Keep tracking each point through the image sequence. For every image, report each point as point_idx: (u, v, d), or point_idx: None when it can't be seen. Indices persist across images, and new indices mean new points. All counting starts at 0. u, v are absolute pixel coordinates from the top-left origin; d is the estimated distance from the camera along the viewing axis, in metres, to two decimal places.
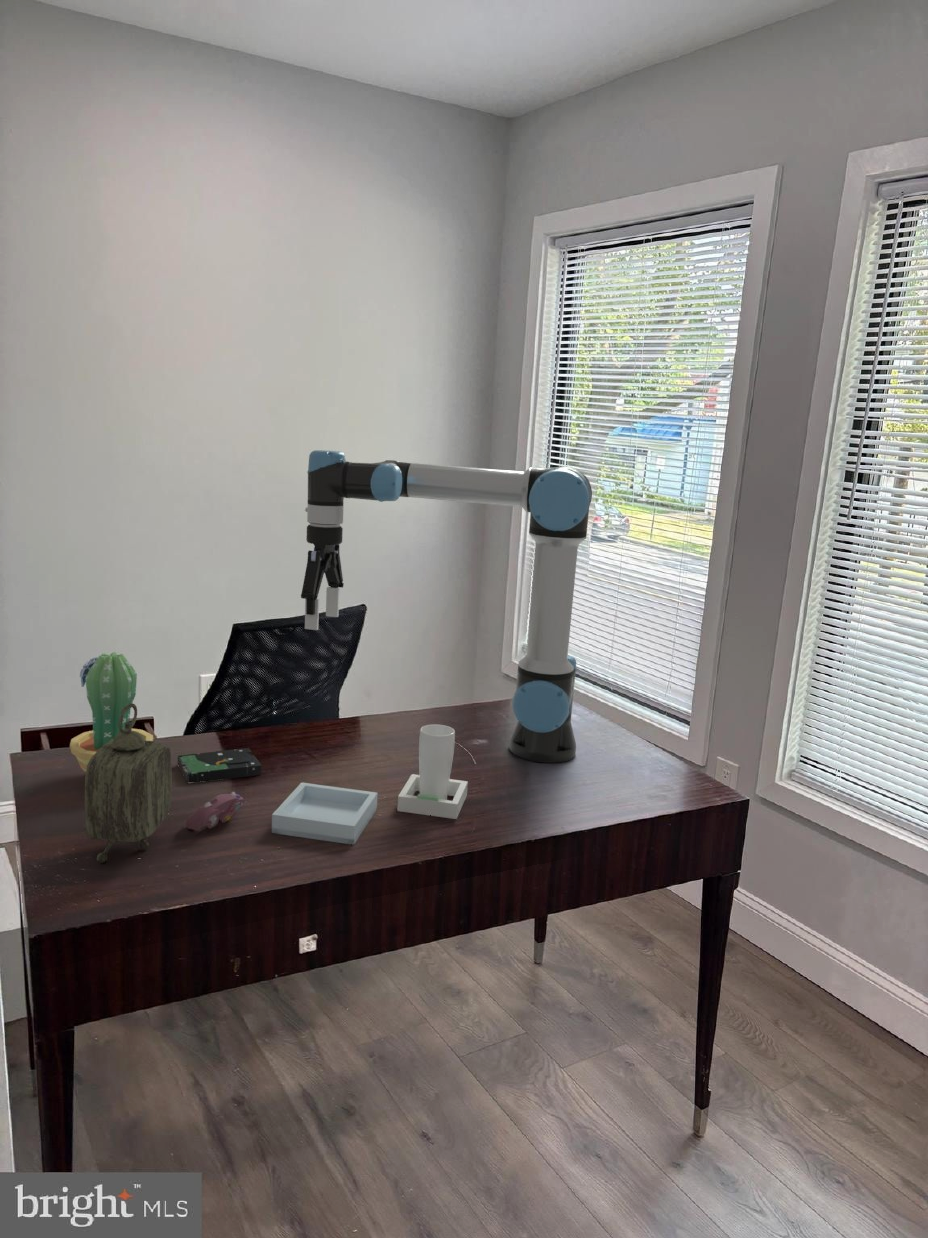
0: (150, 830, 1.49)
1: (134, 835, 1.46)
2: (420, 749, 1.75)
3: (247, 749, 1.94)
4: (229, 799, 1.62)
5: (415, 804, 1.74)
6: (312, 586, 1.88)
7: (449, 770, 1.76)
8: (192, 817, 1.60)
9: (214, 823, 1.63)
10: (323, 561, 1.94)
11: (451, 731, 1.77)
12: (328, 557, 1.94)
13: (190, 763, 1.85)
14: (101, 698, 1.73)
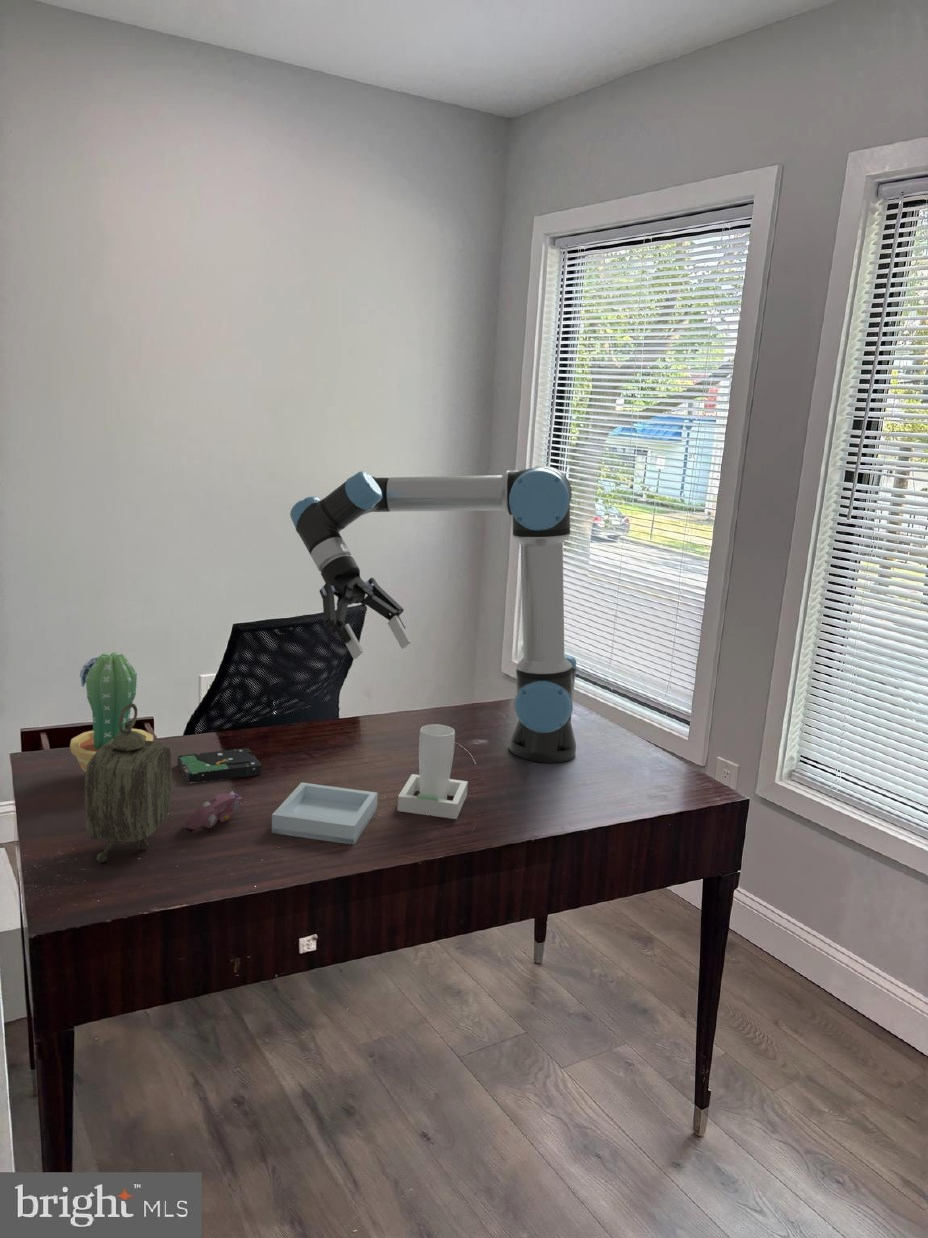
0: (150, 830, 1.49)
1: (134, 835, 1.46)
2: (420, 749, 1.75)
3: (247, 749, 1.95)
4: (228, 799, 1.63)
5: (415, 804, 1.74)
6: (329, 613, 1.81)
7: (449, 770, 1.76)
8: (191, 816, 1.60)
9: (213, 822, 1.63)
10: (343, 592, 1.87)
11: (451, 731, 1.77)
12: (347, 586, 1.87)
13: (190, 763, 1.85)
14: (101, 698, 1.73)
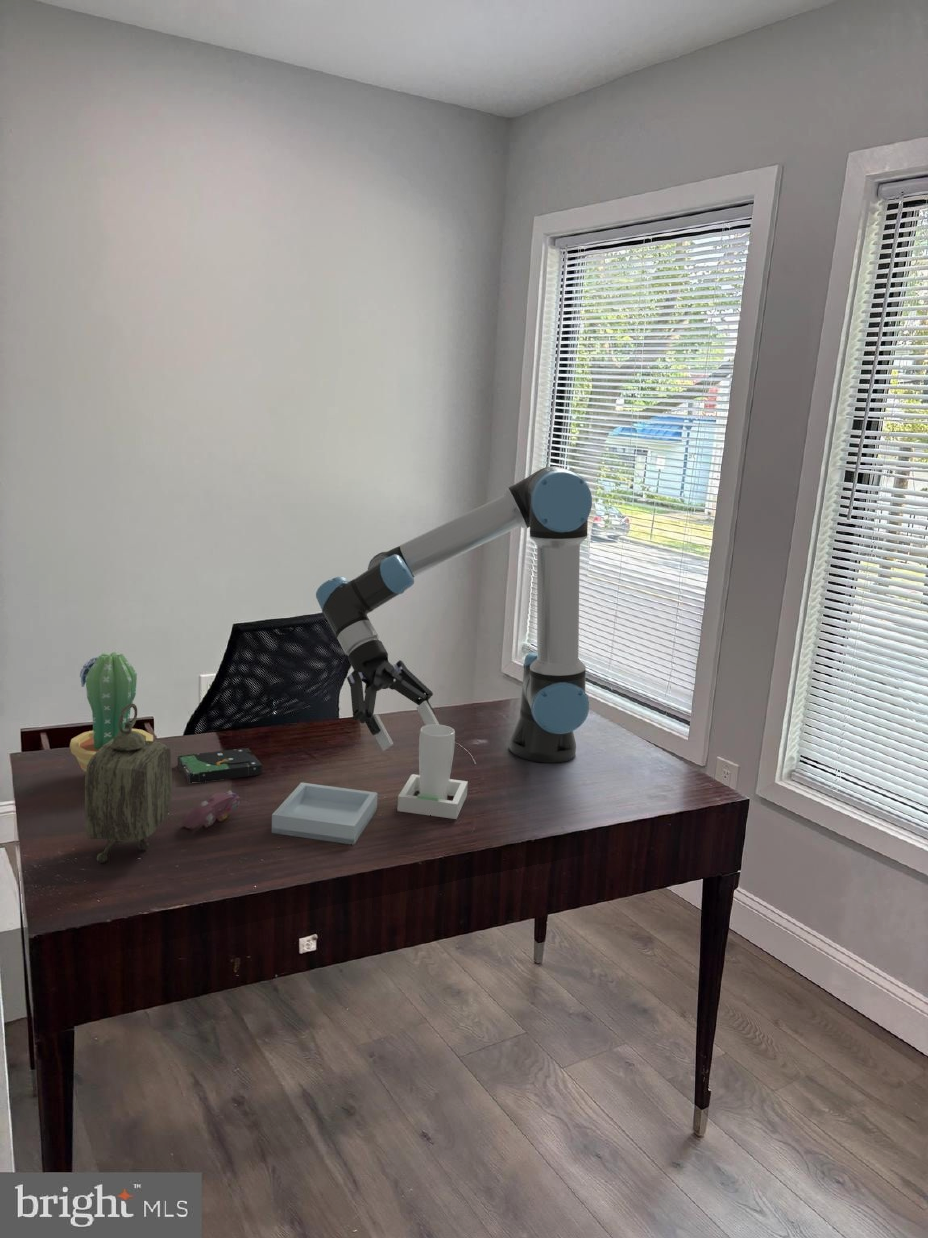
0: (150, 830, 1.49)
1: (134, 835, 1.46)
2: (420, 749, 1.75)
3: (247, 749, 1.95)
4: (226, 798, 1.63)
5: (415, 804, 1.74)
6: (357, 704, 1.74)
7: (449, 770, 1.76)
8: (189, 816, 1.61)
9: (211, 822, 1.63)
10: (371, 679, 1.80)
11: (451, 731, 1.77)
12: (375, 673, 1.81)
13: (190, 763, 1.85)
14: (101, 698, 1.73)
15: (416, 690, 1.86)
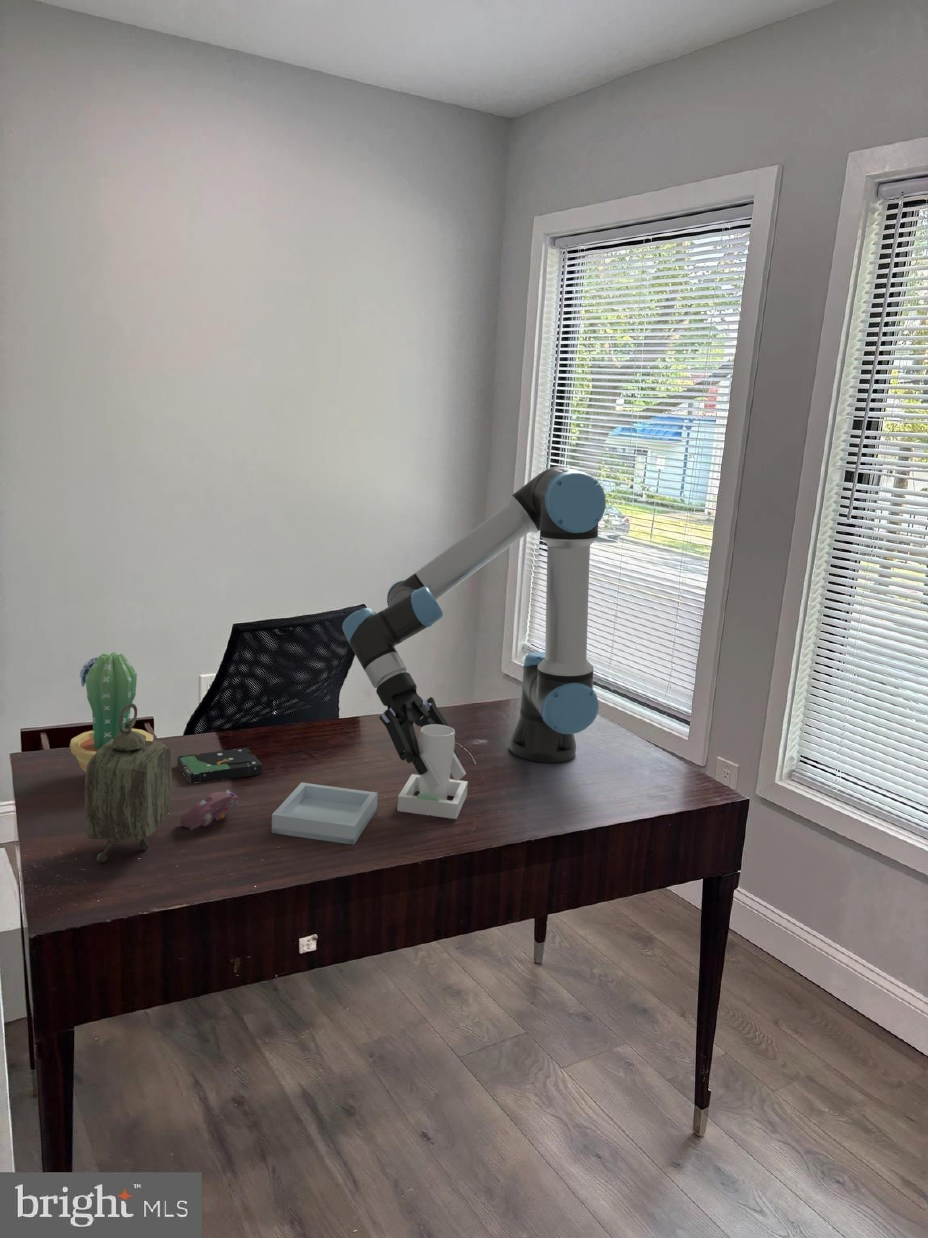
0: (150, 830, 1.49)
1: (134, 835, 1.46)
2: (420, 749, 1.75)
3: (246, 749, 1.95)
4: (224, 797, 1.63)
5: (415, 804, 1.74)
6: (402, 745, 1.73)
7: (449, 770, 1.76)
8: (187, 815, 1.61)
9: (209, 821, 1.63)
10: (404, 715, 1.78)
11: (451, 731, 1.77)
12: (405, 708, 1.78)
13: (191, 764, 1.85)
14: (101, 698, 1.73)
15: None
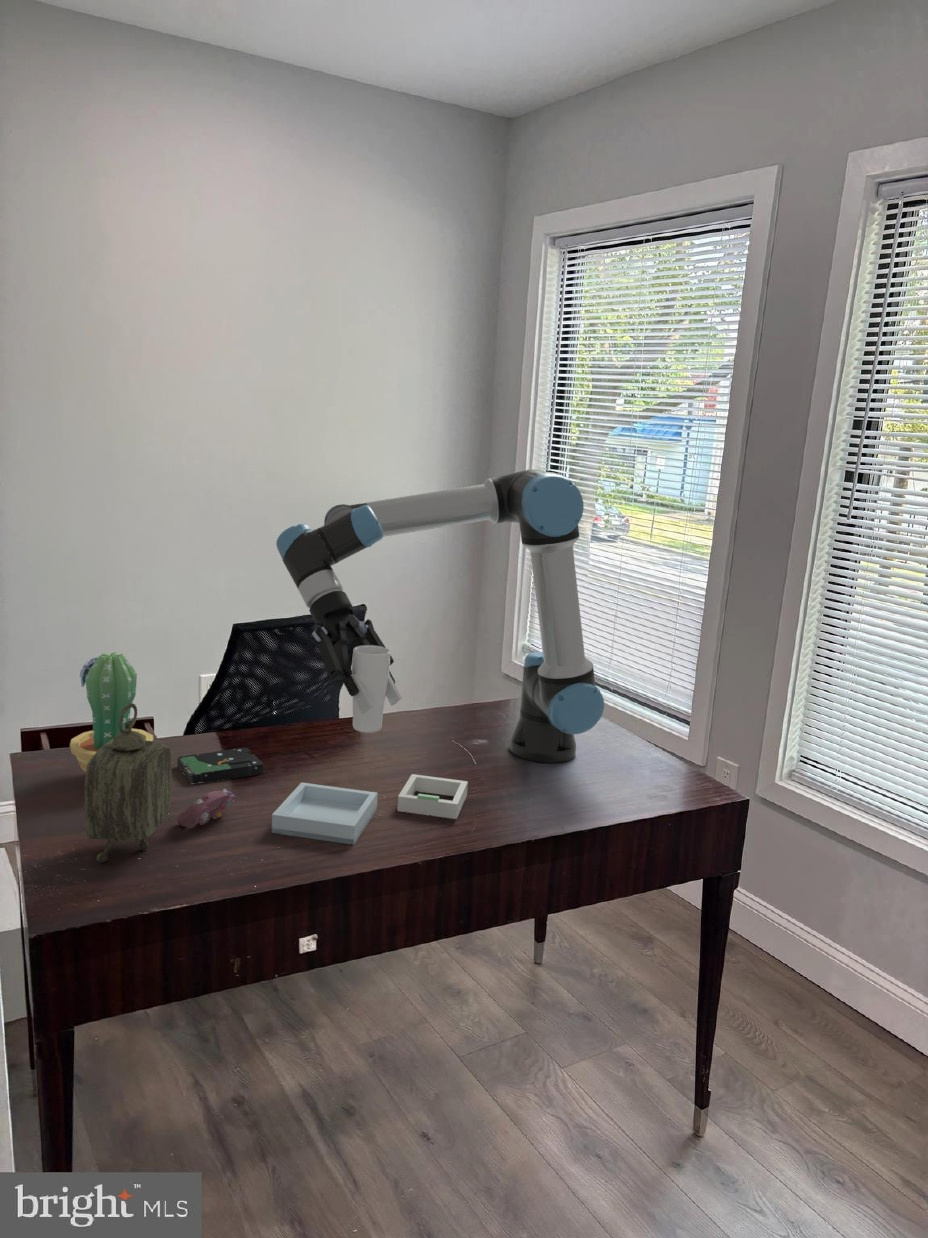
0: (150, 830, 1.49)
1: (134, 835, 1.46)
2: (353, 669, 1.65)
3: (246, 748, 1.95)
4: (221, 796, 1.63)
5: (415, 804, 1.74)
6: (332, 664, 1.63)
7: (383, 693, 1.67)
8: (184, 814, 1.61)
9: (206, 820, 1.64)
10: (337, 634, 1.68)
11: (387, 652, 1.68)
12: (339, 627, 1.68)
13: (191, 764, 1.85)
14: (101, 698, 1.73)
15: None
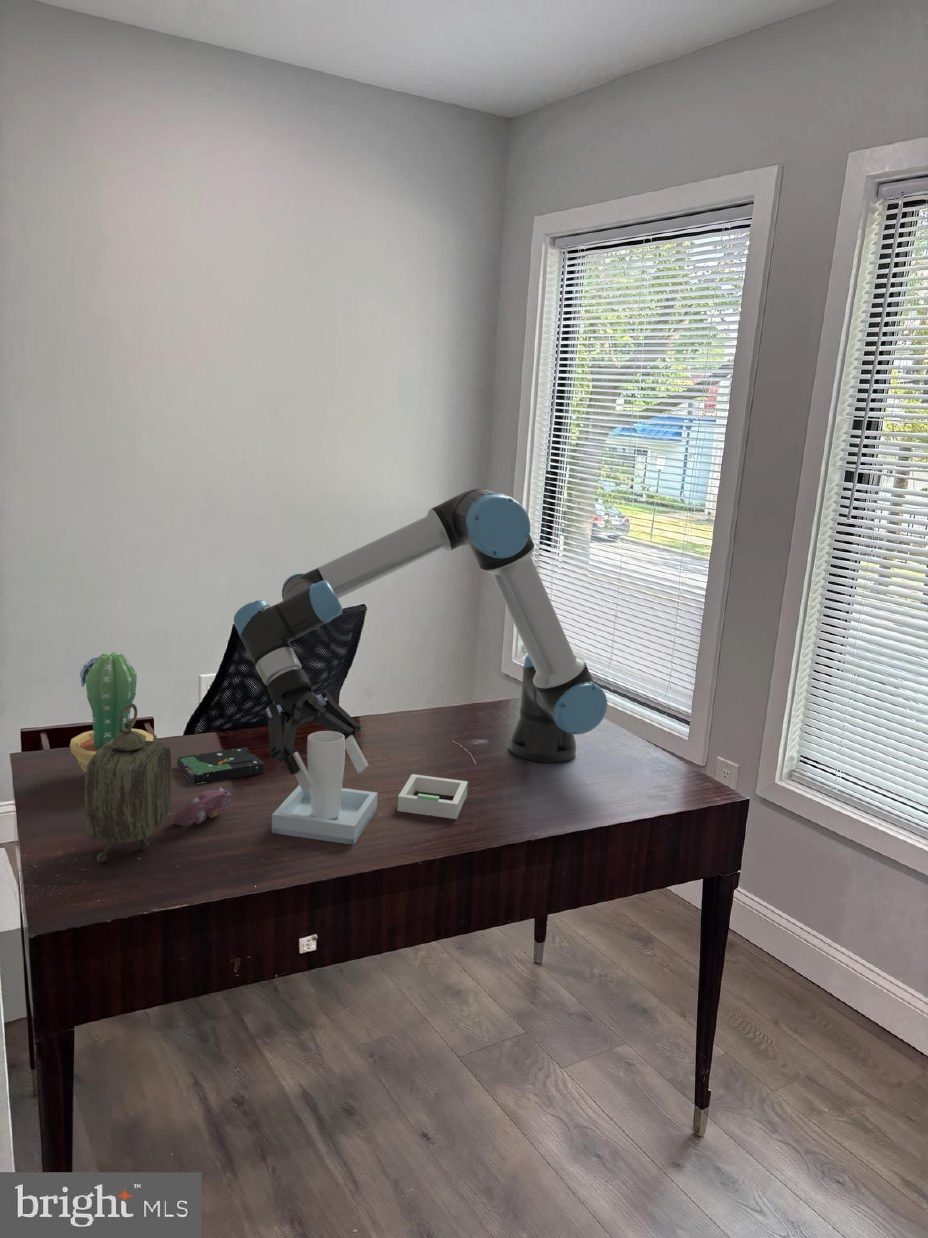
0: (150, 830, 1.49)
1: (134, 835, 1.46)
2: (308, 757, 1.65)
3: (245, 748, 1.95)
4: (217, 795, 1.64)
5: (415, 804, 1.74)
6: (275, 741, 1.60)
7: (340, 779, 1.66)
8: (180, 813, 1.62)
9: (202, 819, 1.64)
10: (291, 712, 1.66)
11: (341, 737, 1.67)
12: (295, 705, 1.66)
13: (192, 765, 1.85)
14: (101, 698, 1.73)
15: (342, 723, 1.71)
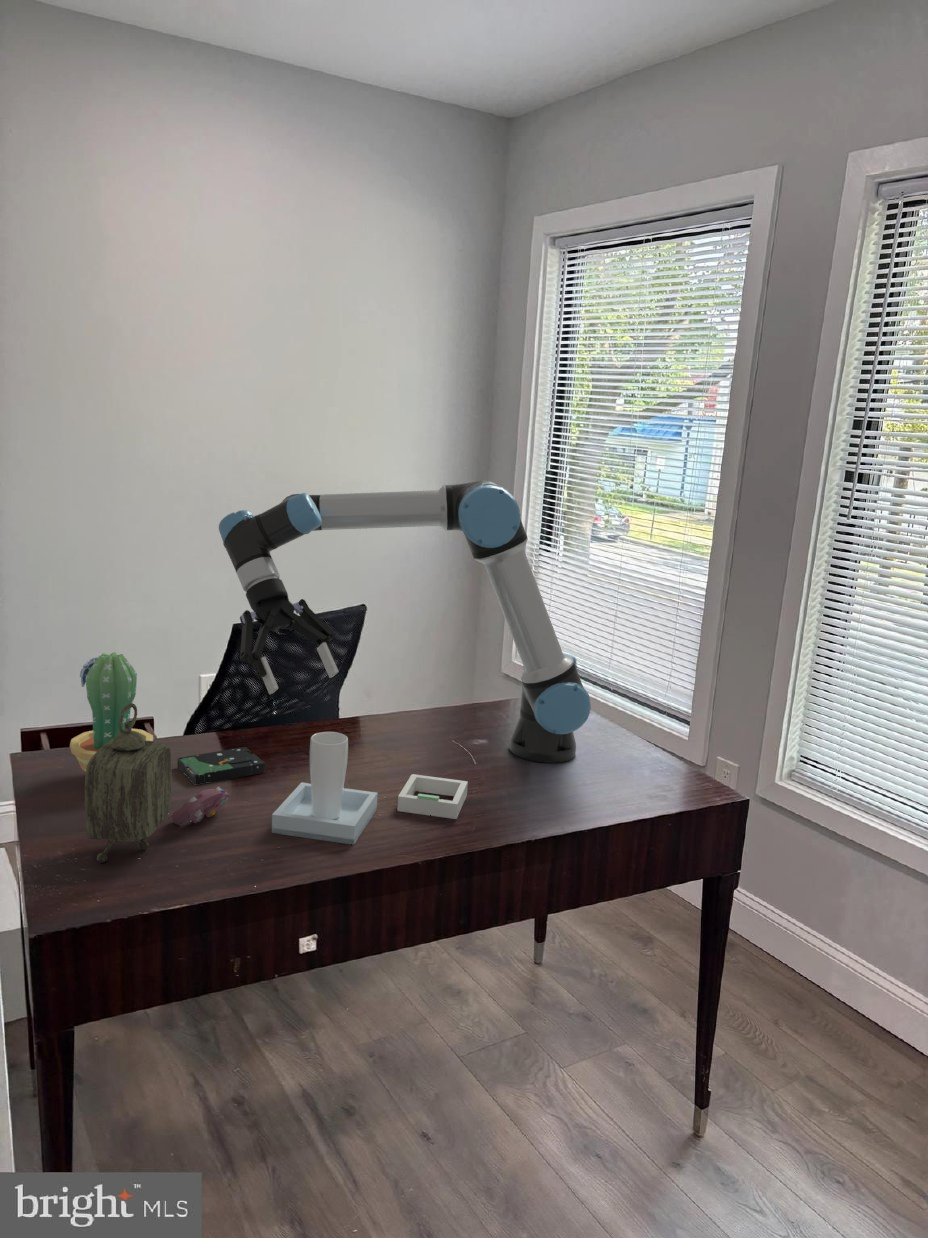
0: (150, 830, 1.49)
1: (134, 835, 1.46)
2: (310, 758, 1.64)
3: (244, 748, 1.95)
4: (214, 794, 1.64)
5: (415, 804, 1.74)
6: (244, 646, 1.71)
7: (342, 781, 1.65)
8: (178, 812, 1.62)
9: (199, 818, 1.64)
10: (265, 619, 1.76)
11: (345, 739, 1.66)
12: (269, 613, 1.76)
13: (193, 765, 1.84)
14: (101, 698, 1.73)
15: (316, 631, 1.81)
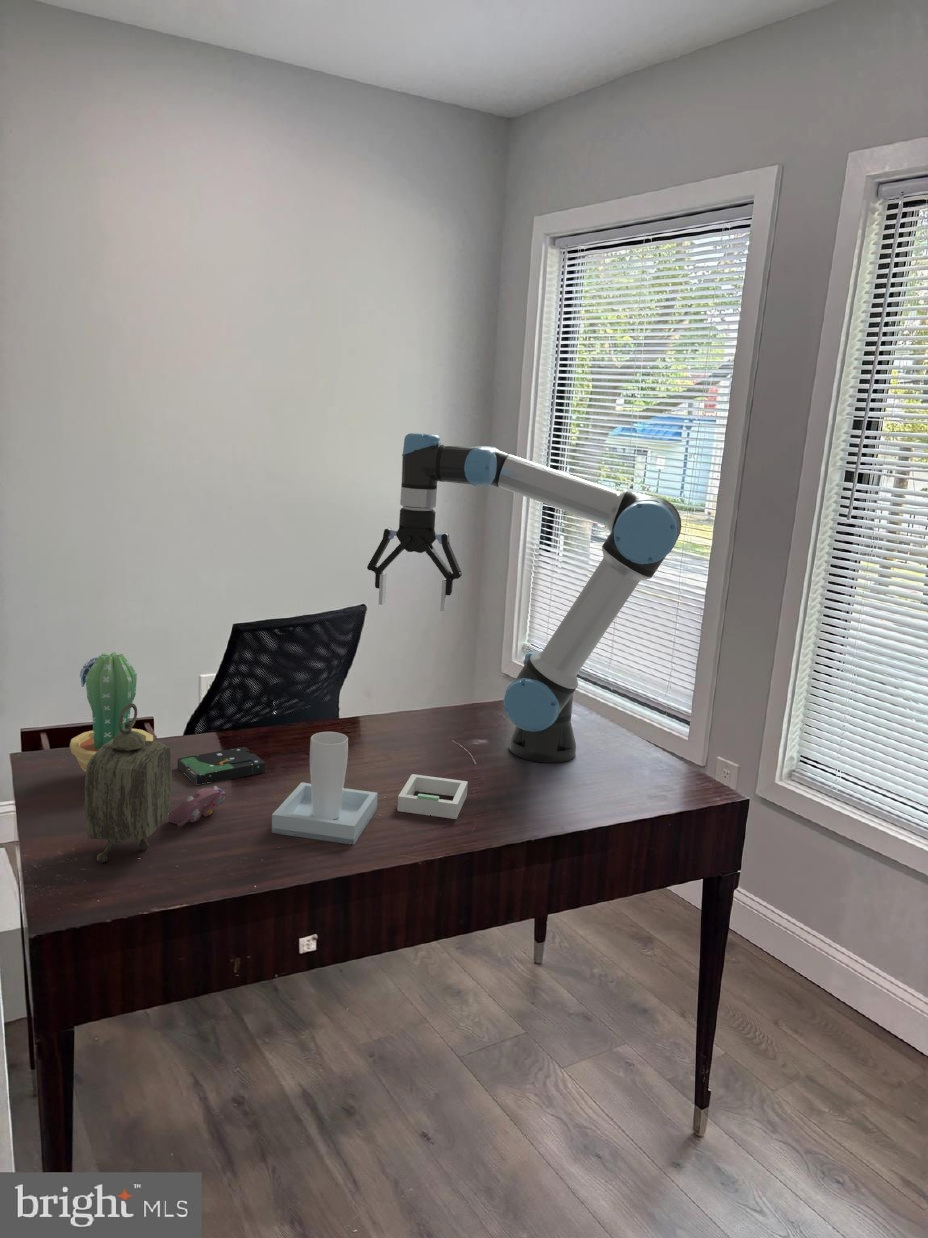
0: (150, 830, 1.49)
1: (134, 835, 1.46)
2: (310, 758, 1.64)
3: (244, 748, 1.95)
4: (211, 793, 1.64)
5: (415, 804, 1.74)
6: None
7: (342, 781, 1.65)
8: (175, 811, 1.62)
9: (197, 817, 1.64)
10: (400, 542, 1.96)
11: (345, 739, 1.67)
12: (404, 539, 1.95)
13: (193, 765, 1.84)
14: (101, 698, 1.73)
15: (442, 568, 1.95)
